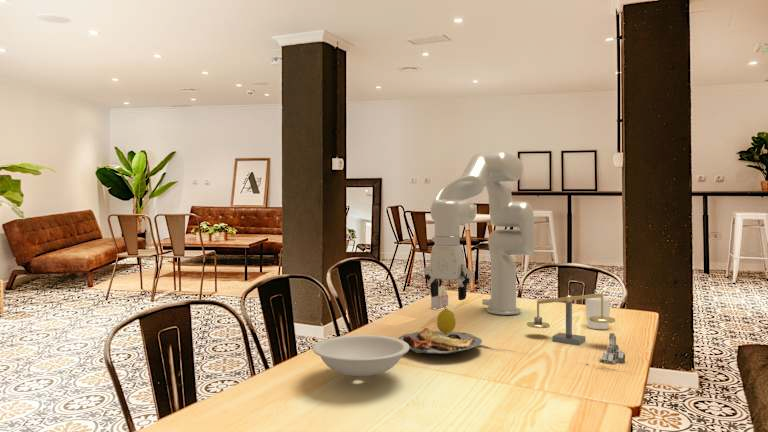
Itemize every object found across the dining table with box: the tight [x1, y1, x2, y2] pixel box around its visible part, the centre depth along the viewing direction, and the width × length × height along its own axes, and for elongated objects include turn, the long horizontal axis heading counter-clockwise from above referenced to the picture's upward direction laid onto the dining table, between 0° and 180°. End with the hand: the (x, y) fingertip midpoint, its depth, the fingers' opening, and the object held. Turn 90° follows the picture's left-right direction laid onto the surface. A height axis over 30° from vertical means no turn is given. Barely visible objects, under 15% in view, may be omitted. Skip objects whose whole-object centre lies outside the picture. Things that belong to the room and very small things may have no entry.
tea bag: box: [430, 285, 449, 310], centre depth 210 cm, size 4×7×10 cm, turn 143°
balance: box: [526, 292, 616, 346], centre depth 162 cm, size 27×7×16 cm, turn 51°
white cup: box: [584, 296, 611, 330], centre depth 181 cm, size 8×8×10 cm
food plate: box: [397, 327, 484, 355], centre depth 157 cm, size 25×23×4 cm
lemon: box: [436, 308, 456, 335], centre depth 159 cm, size 6×6×8 cm
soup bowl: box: [312, 334, 410, 377], centre depth 132 cm, size 24×24×7 cm
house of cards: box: [598, 332, 626, 365], centre depth 139 cm, size 9×9×8 cm
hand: (448, 297), depth 160 cm, fingers open, 9 cm apart
